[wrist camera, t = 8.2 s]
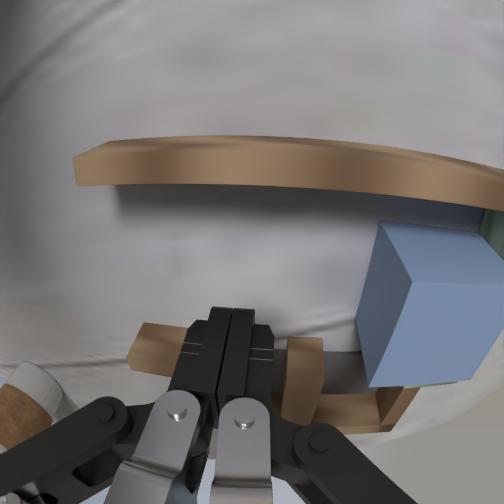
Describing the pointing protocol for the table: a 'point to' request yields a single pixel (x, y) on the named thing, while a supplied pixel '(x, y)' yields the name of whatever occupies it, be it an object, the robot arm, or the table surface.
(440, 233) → the block
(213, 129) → the table surface
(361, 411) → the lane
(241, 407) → the robot arm
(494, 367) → the table surface
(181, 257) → the table surface
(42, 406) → the coffee cup
